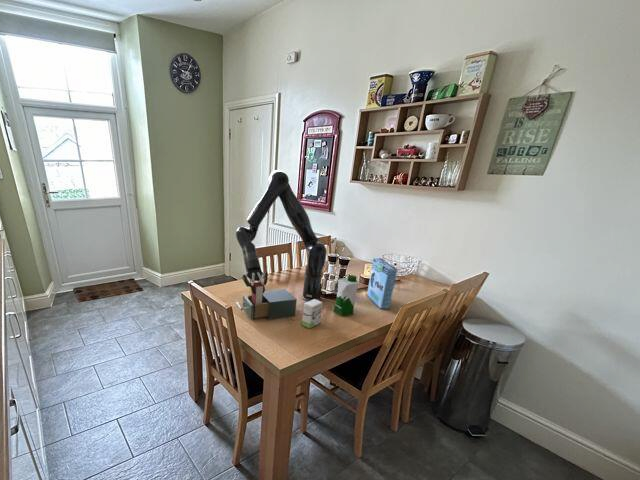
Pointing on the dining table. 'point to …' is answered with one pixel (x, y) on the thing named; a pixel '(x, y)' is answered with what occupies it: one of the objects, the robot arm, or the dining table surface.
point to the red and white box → (258, 293)
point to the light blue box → (381, 283)
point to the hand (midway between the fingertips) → (258, 293)
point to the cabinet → (280, 303)
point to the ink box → (312, 313)
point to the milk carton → (346, 295)
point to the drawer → (254, 307)
